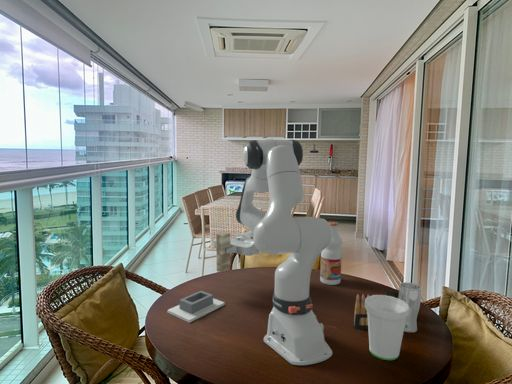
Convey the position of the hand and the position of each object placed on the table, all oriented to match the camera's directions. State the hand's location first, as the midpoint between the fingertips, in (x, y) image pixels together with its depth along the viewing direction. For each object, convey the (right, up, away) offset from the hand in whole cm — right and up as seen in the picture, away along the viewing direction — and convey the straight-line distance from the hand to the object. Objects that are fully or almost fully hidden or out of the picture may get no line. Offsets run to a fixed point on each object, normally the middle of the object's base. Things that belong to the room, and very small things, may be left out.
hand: (221, 250), depth 136 cm
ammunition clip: (+53, -23, -21) cm, 61 cm away
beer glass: (+66, -23, -21) cm, 73 cm away
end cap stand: (-9, -21, -8) cm, 24 cm away
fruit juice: (+48, -19, +21) cm, 56 cm away
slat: (0, -8, +2) cm, 9 cm away
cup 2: (+52, -25, -35) cm, 68 cm away
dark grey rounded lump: (+66, -22, -10) cm, 70 cm away
